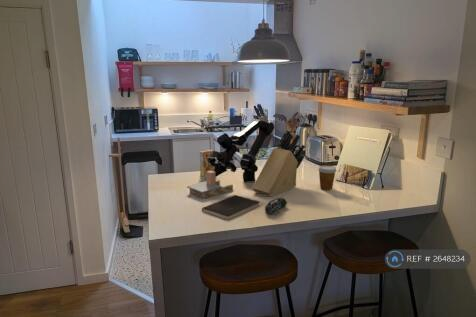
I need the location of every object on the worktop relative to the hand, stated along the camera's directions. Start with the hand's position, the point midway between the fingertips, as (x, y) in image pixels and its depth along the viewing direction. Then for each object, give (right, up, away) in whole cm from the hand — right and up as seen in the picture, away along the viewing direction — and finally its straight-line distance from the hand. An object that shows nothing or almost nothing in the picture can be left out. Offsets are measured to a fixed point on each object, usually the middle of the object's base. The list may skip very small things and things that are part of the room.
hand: (213, 177), depth 185 cm
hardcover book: (+10, -14, -23) cm, 28 cm away
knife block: (+36, -7, +6) cm, 37 cm away
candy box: (-6, 0, +33) cm, 33 cm away
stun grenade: (+31, -14, -26) cm, 43 cm away
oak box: (-1, -8, +1) cm, 8 cm away
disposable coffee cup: (+61, -7, +5) cm, 62 cm away
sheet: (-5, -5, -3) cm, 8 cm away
